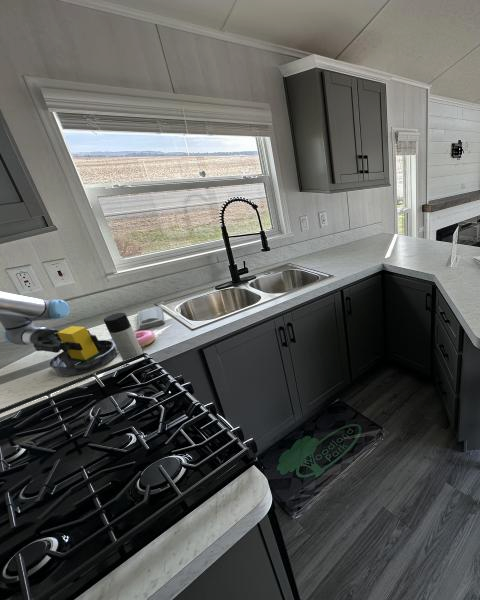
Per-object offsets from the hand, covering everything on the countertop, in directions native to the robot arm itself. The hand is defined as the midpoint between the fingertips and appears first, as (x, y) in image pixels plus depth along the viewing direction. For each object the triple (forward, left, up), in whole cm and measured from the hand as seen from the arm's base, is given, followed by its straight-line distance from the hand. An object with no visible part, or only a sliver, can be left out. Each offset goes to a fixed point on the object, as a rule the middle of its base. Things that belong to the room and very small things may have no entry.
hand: (88, 342), depth 124 cm
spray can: (+12, -7, -9) cm, 17 cm away
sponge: (-4, +4, -8) cm, 9 cm away
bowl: (-4, +4, -9) cm, 11 cm away
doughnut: (+13, +8, -9) cm, 18 cm away
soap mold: (+16, +32, -9) cm, 37 cm away
